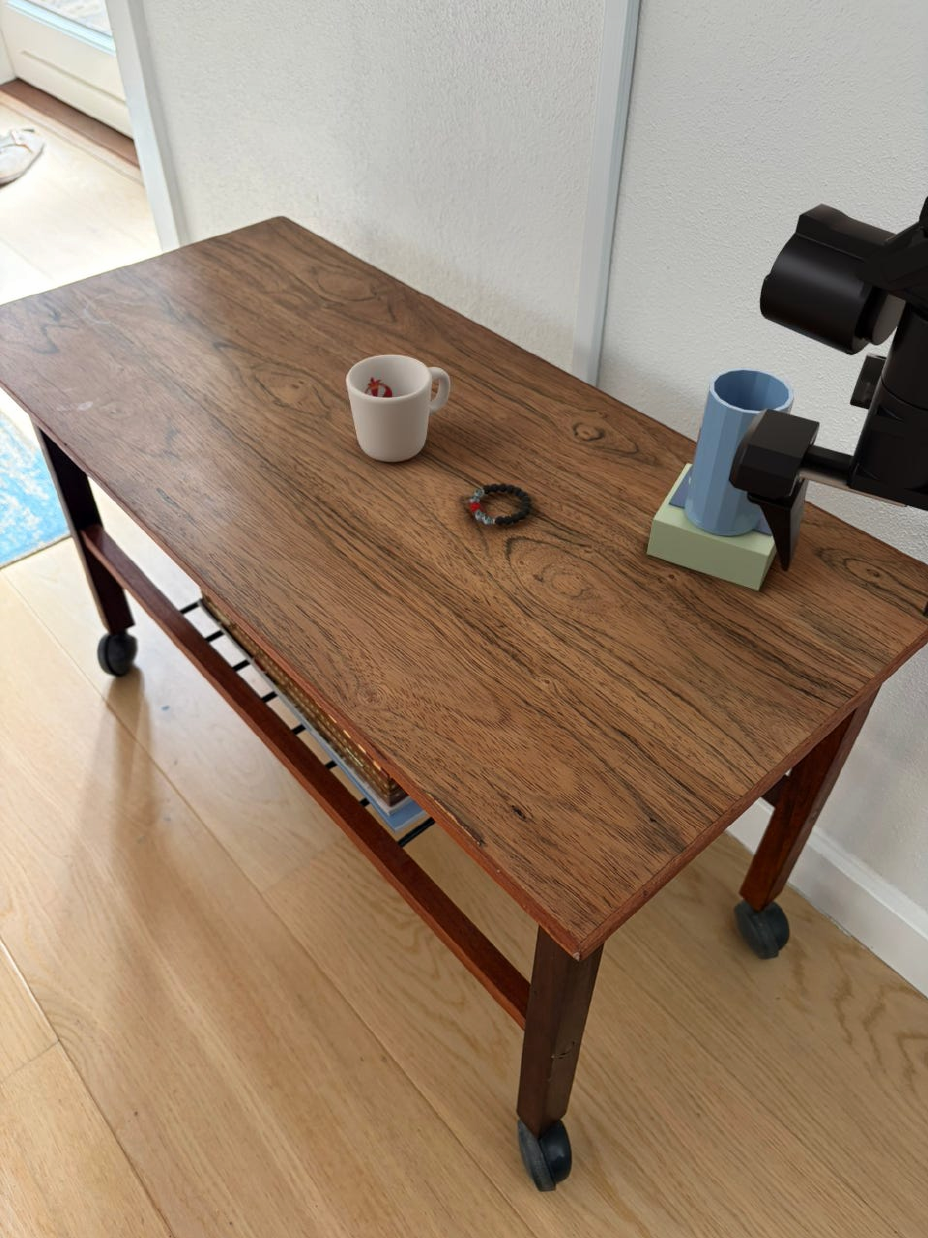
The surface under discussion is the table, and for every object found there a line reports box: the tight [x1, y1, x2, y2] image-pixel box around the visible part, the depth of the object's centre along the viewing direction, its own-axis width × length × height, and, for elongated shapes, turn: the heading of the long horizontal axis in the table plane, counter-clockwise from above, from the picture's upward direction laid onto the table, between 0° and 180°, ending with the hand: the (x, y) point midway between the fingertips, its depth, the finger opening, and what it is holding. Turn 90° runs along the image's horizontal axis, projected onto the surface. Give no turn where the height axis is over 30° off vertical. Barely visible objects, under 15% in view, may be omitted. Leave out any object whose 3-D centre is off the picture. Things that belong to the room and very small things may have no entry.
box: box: [646, 462, 777, 592], centre depth 89 cm, size 10×9×4 cm
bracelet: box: [469, 482, 533, 527], centre depth 93 cm, size 6×6×1 cm
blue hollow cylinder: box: [684, 367, 795, 536], centre depth 83 cm, size 6×6×12 cm
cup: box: [345, 354, 451, 463], centre depth 98 cm, size 11×8×8 cm
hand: (854, 589), depth 67 cm, fingers open, 9 cm apart
